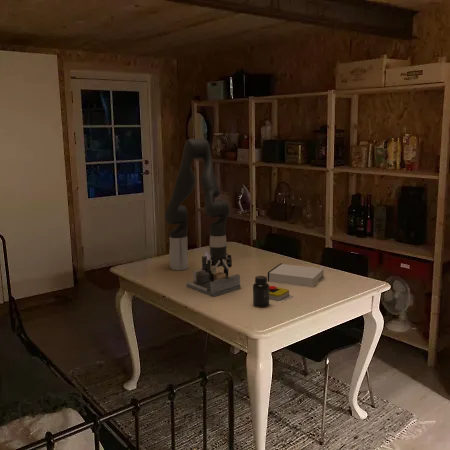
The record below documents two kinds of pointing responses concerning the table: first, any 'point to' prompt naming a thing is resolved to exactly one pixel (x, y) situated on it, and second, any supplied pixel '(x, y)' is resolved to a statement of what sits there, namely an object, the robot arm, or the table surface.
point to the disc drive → (295, 275)
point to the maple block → (219, 275)
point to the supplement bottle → (261, 292)
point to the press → (217, 285)
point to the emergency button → (278, 294)
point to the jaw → (201, 273)
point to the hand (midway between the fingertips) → (218, 279)
